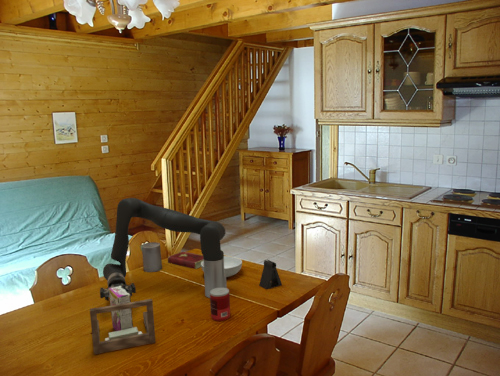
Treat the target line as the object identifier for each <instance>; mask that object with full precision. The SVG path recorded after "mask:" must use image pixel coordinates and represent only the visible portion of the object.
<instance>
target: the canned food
mask: <svg viewBox="0 0 500 376" xmlns="http://www.w3.org/2000/svg"><path fill="white" fill-rule="evenodd" d="M230 296H231V295H230V289H229V288H228V287H227V288H215V289H212V290H211V291H210V298H209V300H210V301H209V303H210V305H209V306H210V317H211V319H212V320H213V321H216V322H222V321H226V320H228V319H230V316H231V301H230V299H231V298H230Z"/></svg>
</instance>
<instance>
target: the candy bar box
mask: <svg viewBox="0 0 500 376" xmlns="http://www.w3.org/2000/svg"><path fill="white" fill-rule="evenodd" d="M109 295H110V297H109V303H110V304H109V305H110V306H112V305H118V304H124V303H130V302H131V297H130V294H129V293H128V292H127V291H126V290H125V289H124V288H123V287H122V286H117V287H113V288H109ZM132 312H133V311H132V308H129V309H123V310H117V311H111V314H110V315H111V323H112V329H113V330H114V332H115V331H120V330H125V329H129V328H134V324H133V314H132Z"/></svg>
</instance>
